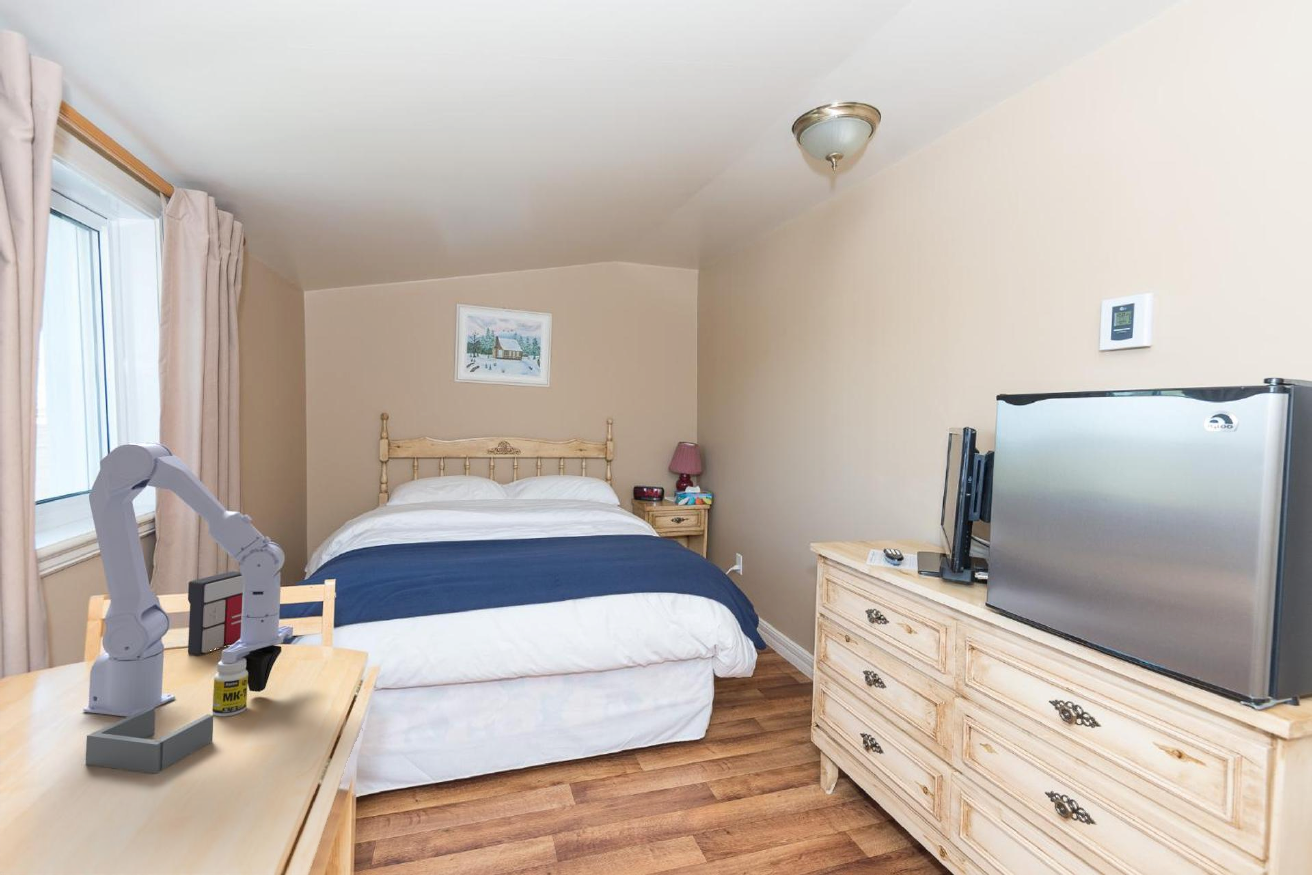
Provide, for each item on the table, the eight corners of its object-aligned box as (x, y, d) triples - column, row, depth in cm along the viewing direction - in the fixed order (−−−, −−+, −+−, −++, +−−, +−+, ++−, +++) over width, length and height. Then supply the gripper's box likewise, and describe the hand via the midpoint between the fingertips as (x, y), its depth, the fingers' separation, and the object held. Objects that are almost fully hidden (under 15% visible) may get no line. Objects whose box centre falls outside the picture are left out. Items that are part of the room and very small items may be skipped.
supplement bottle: (220, 720, 104) (223, 668, 104) (206, 712, 106) (209, 661, 106) (252, 710, 108) (254, 660, 108) (238, 702, 110) (240, 654, 110)
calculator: (202, 656, 130) (205, 583, 130) (184, 654, 131) (188, 581, 131) (246, 640, 141) (249, 572, 141) (230, 638, 142) (233, 570, 142)
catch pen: (85, 764, 89) (86, 735, 89) (148, 733, 98) (149, 707, 98) (155, 773, 87) (156, 744, 87) (212, 741, 97) (213, 714, 97)
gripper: (250, 626, 105) (246, 709, 105) (309, 604, 120) (305, 676, 120) (211, 623, 106) (207, 704, 106) (274, 601, 121) (271, 673, 121)
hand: (257, 689), depth 113 cm, fingers closed
